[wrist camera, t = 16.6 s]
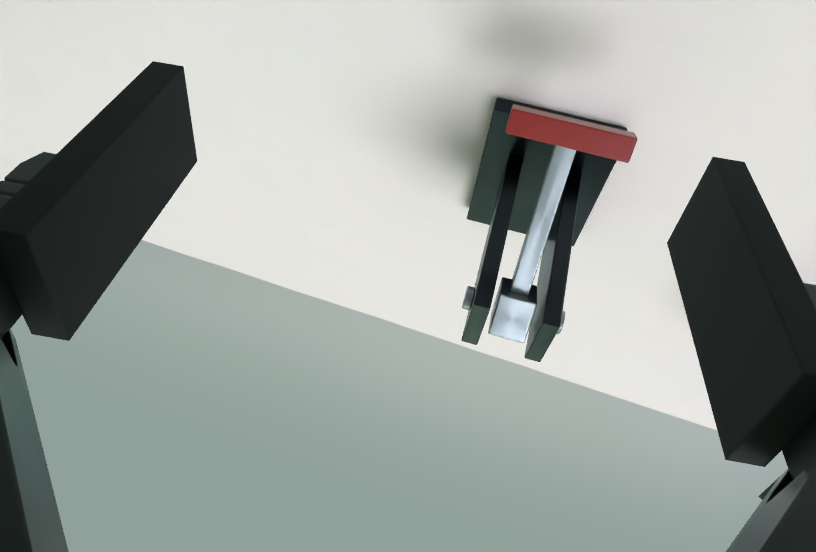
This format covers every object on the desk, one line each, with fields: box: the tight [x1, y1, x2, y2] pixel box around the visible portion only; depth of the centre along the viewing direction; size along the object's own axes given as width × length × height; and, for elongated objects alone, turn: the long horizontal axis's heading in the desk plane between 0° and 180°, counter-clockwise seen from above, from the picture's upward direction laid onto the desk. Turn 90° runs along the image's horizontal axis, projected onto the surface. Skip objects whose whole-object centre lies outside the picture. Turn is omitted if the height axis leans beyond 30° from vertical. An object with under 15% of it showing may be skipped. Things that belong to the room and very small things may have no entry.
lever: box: [488, 104, 637, 343], centre depth 35 cm, size 13×6×2 cm, turn 176°
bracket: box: [462, 98, 627, 362], centre depth 40 cm, size 11×8×14 cm
